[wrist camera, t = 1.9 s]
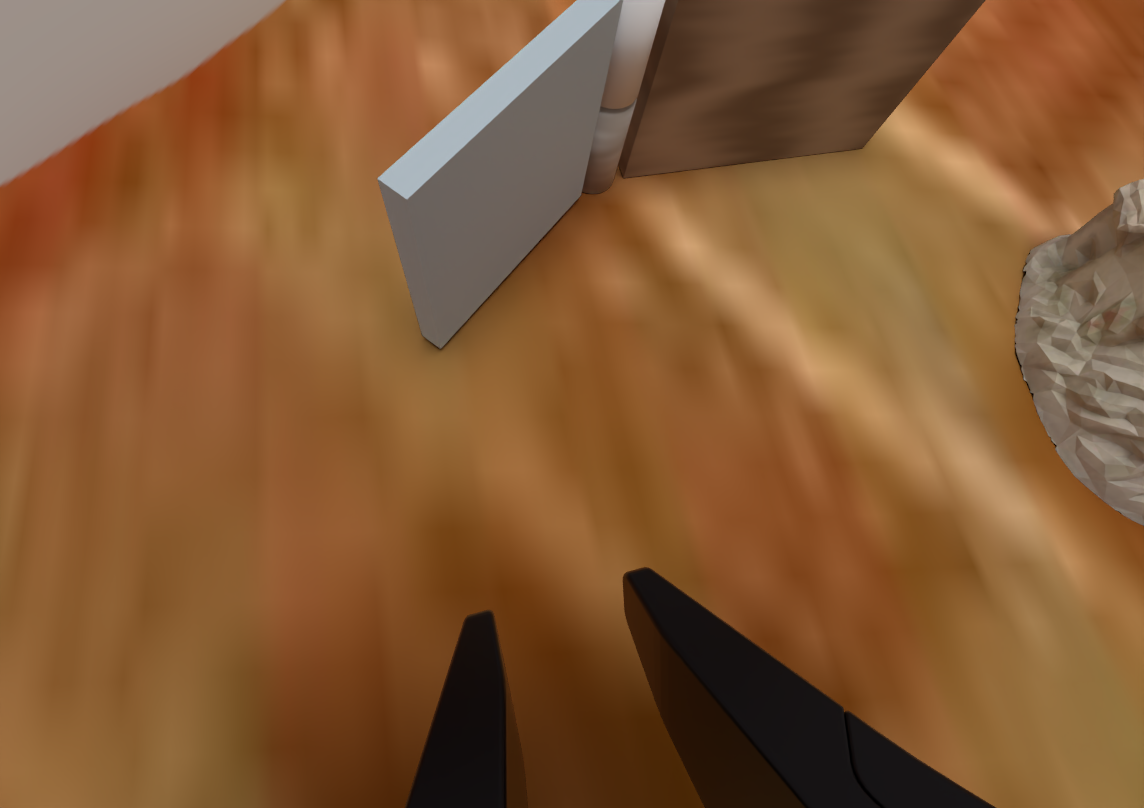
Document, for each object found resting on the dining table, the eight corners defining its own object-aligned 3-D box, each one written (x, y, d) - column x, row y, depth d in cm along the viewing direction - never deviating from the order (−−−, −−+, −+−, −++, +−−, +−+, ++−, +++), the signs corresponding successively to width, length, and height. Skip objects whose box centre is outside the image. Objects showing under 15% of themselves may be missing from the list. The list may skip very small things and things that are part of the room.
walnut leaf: (573, 196, 28) (613, -8, 18) (561, 156, 28) (594, -61, 19) (867, 158, 31) (1030, -31, 21) (850, 123, 32) (1001, -75, 22)
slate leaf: (585, 141, 28) (628, -72, 19) (624, 168, 28) (686, -35, 19) (409, 325, 24) (356, 163, 15) (453, 358, 24) (428, 214, 15)
